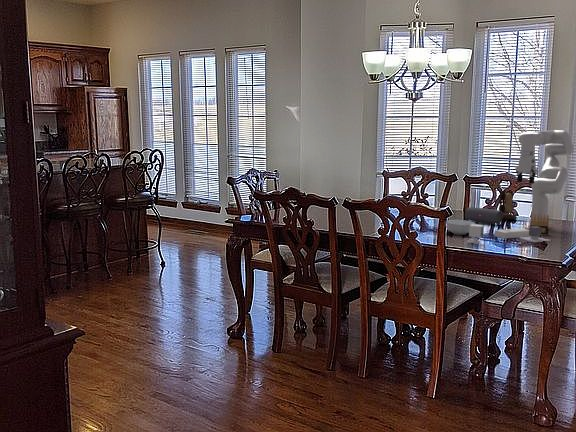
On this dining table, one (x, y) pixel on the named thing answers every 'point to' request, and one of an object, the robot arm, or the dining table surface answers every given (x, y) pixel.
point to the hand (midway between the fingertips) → (525, 182)
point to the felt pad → (534, 239)
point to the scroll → (507, 205)
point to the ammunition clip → (536, 223)
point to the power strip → (512, 233)
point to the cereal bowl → (459, 226)
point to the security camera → (475, 233)
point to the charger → (534, 232)
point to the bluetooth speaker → (483, 215)
